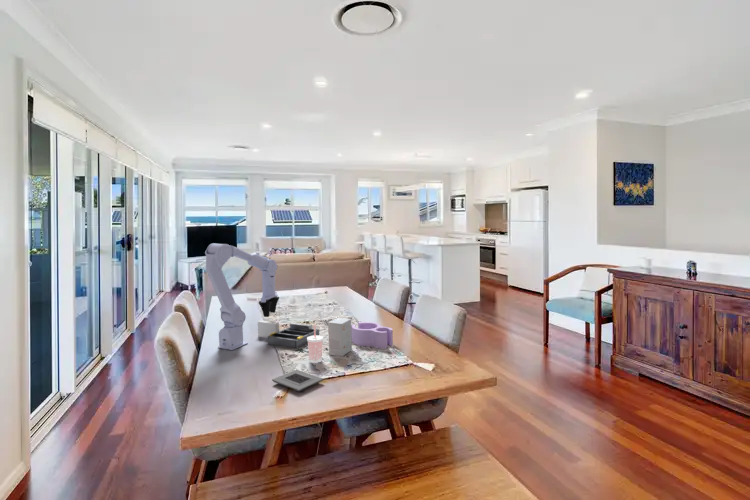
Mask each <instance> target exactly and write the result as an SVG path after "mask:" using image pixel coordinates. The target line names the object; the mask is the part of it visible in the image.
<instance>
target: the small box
mask: <svg viewBox="0 0 750 500" xmlns="http://www.w3.org/2000/svg"><path fill="white" fill-rule="evenodd" d="M327 324H328V325H327V326H328V327H327V329H328V354H329V355H330V356H331V355H332V356H339V357H343V356H345V355H346V354H347V353H349V352H350V351H352V350H353V348H352V347H353V346H352V345H353V343H352V338H351V325H352V319H351V318H346V317H345V318H344V317H337V318H335V319H332V320H330V321H329V322H328V323H327Z"/></svg>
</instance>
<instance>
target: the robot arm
mask: <svg viewBox="0 0 750 500" xmlns="http://www.w3.org/2000/svg"><path fill="white" fill-rule="evenodd" d="M204 254H205V257H206V258H205V270H206V273H207V275H208V277H209V279H210V282H211V284H212V288H213V290H214V291H215V294H216V296H217V298H218V301H219V303H220V308H219V311H220V319H221V321H222V322H223V325H224V326H223V327H222V328H221V329H220V330H219V331H218V343H219V346H217V348H219V349H224V350H230V351H233V350H236V349H237V348H240V347H243V346H245V345H248V342H247V341H244V331H243V330H244V328H243V325H244V323H245V321H246V318H247V317H246V313H245V311H243V310H242V309H241V307H240V305H239V304H237V303H236V301H235V299H234V296H233V295H232V292H231V289H230V287H229V285H228V282H227V279H226V277H225V275H224V273H223V270H222V269H223V266H224V265H225V264H226V263H227V262H228V261H229V259H231V258H233V257H235V258H238V259H241V260H243V261H245V262H246V263H247V264H248V265H249V266H251V267H254V268H256V269H259V270H260V272H261V281H262V283H261V286H262V288H261V289H262V292H261V293H262V295H261V297H260V300H259V301H258V304H259V306H260V308H261V311H262V315H263V317H266V318H268V317H270V314H275V313H276V309H277V304H278V302H279V299H280V297H279V294H278V293H277V291H276V273H277V272H276V271H277V269H278V264H277V262H276V261H275V260H274V259H269V258H268V257H267V256H263V255H260V252H252V253H249V252H247V251H245V250H243V249H240V248H239V247H236V246H234V245H231V244H230V245H229V244H228V243H216V242H215V243H214V242H213V243H210V244H209V245H208V246H207V248H206V250H205V252H204Z"/></svg>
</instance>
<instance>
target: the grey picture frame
mask: <svg viewBox="0 0 750 500" xmlns="http://www.w3.org/2000/svg"><path fill="white" fill-rule="evenodd" d="M271 381H272V382H273V383H276V384H279V385H281V386H283V387H287V388H289V389H291V390H294V391H296V392H301V391H304V390H305V389H308V388H310V387H312V386H314V385H317V384H319V383H321V382H323V381H324V378H322V377H320V376H317V375H313V374H311V373H308V372H304V371H301V370H299V369H294V370H292V371H289V372H287V373H284V374H282V375H280V376H278V377H275V378H273V379H271Z"/></svg>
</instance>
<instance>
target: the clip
mask: <svg viewBox="0 0 750 500" xmlns="http://www.w3.org/2000/svg"><path fill="white" fill-rule="evenodd" d="M356 326H357V327H356ZM393 332H394V331H393V328H392V327H387V326H382V325H381V324H380V323H378V322H372V321H364V322H362V321H358V323H357V325H356V324H351V338H352V345H353V344H354V345H356V346H361V347H368V346H369V347H373V346H374V348H375V347H376V349H381V348H384V349H388V345H390V347H393V343H394V341H393V337H394V336H393V335H394V334H393Z"/></svg>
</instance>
